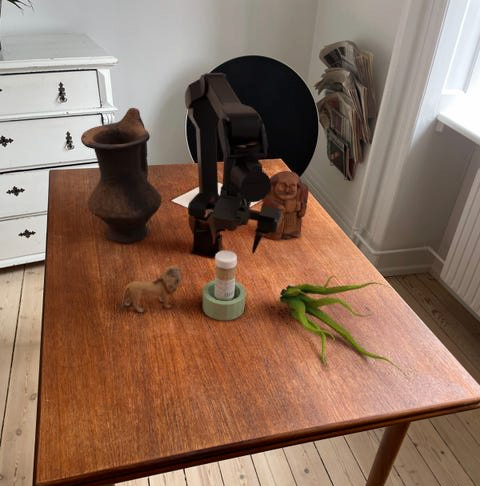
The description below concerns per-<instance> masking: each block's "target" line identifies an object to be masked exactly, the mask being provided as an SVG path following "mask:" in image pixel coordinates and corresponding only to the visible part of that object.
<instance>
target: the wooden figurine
mask: <svg viewBox="0 0 480 486" xmlns="http://www.w3.org/2000/svg"><path fill="white" fill-rule="evenodd" d="M269 178H270V182H271V188H270V191H269V193H268V195H267V196H266V197H265V198H264V199H262V200H261V201H262V204H261V208H260V211H262V209H263V207H264V206H269V207H274V208H279V209H281V210H282V212H283V217H282V222H281V224H280V225H279V227H278V229H277V231H276V232H274V233H272V232H270V234H264V235H263V237H266V238H267V239H269V240H275V241H279V240H290V239H291V240H292V238H300V236H301V231H302V224H303V218H304V217H305V215H306V213H307V209H308V202H309V201H308V199H309V191H310V190H309V186H308V184H307V183H306V182H304V181H303V180H302V179H301V177H300V176H299V175H298V174H297V173H296V172H295V171H290V170H282V171H279V172H276V173H274V174H273V175H272V176H270V177H269Z"/></svg>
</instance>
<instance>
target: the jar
mask: <svg viewBox="0 0 480 486" xmlns="http://www.w3.org/2000/svg"><path fill="white" fill-rule="evenodd" d="M214 289H215V279H212V280H209V281H208V282H207V283H205V284H204V286H203V288H202V301H201V302H202V303H201V305H202V306H201V308H202V311H203V313H204V314H205V315H206V316H208V317H209V318H211V319H214V320H217V321H232V320H236V319H238V318H239V317H241V315H242V314H243V313H244V311H245V305H246V294H247V293H246V289H245V287H244V285H242V284H241V282H238V281H236V280H235V289H234V298H233V300H231V301H220V300H216V299H214V297H215V294H214Z"/></svg>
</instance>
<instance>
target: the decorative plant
mask: <svg viewBox="0 0 480 486" xmlns="http://www.w3.org/2000/svg"><path fill="white" fill-rule="evenodd" d="M337 277H339V278H340V276H337ZM332 278H335V275H331V276H329V277H328V279H327V281H326V283H325V284H324V286H322V285H314V284H311V283H303V284H297V285H290V284H288V285H287V286H286V287H285V288H282V289H281V291H280V294H279V295H280V296H279V300H280V301H279V302H280V303H282V304H284V305H285V304H286V305H287V306H288V307H289V308H290V313H291V316H292V317H293V318H294V319H296V321H299V322H300V324H301V325H302V327H303V328H304V330H305V331H308V332H312V333H315V334H316V336H318V337H319V338H320V340H321V360H322V362H323V364H324V365H325V367H326V368H328V365H327V364H326V362H325V357H324V356H325V349H326V338H327V337H326V334H327V335H329V336H330V337H331V338H332V339H333V341H335V339H336V338H335V337H334V335H333V334H332V332H330V331H328V330H323V329H321V327H320V326H319V325H318V324H317V323H316V322H315V321H313V320H312V319H310V318H309V317H308V316H307V315H310V316H312V317H314V318H316V319H318V320H319V321H321V322H322V323H324V324H325V325H327V326H328V327H329V328H330V329H332V330H333V331H334V332H335V333H337V334H338V335H339V336H340V337H341V338H342V339H343V340H345V341H346V342H347V343H348V344H350V345H351V346H352V347H353V348H354V349H355V350H356V351H357V352H359V353H360V354H361V355H364V356H367V357H369V358H372V359H376V360H383V361H386V362H387V363H390V364H391V365H393V366H394V367H395V368H396V369H398V370H399V371H401V372H402V374H403V375H404V376H405V377H406V378H407V379H408V380H410V378H409V377H408V376H407V374H405V372H403V370H402V369H400V367H398V366H397V365H396V364H395V363H393V362H392V361H391V360H389V359H388V358H386V357H384V356H380V355H378V354H374V353H372V352H370V351H367V350H366V349H363V348H362V347H361V346H360V344H359V343H358V342H357V341H356V339H354V336H352V335H351V333H350V332H349V331H348V330H347V329H345V328H344V327H342V326H341V325H340V324H339V323H337V322H336V321H335V320H334V319H332V317H330V316H329V315H328V314H326V313H325V312H324V311H323V310H322V309H320V308H323V307H325V306H329V305H330V306H333V307H335V305H334V304H337V303H338V304H340V305H342V306H343V307H345V308H346V309H347V310H348V311H349V312H350V313H351V314H353V315H354V316H357V317H364V318H365V317H369V316H372V315H373V313H370V314H368V315H361V314H358V313H357V312H355V311H354V309H352V308H351V306H350V305H349V304H348V303H347V302H346V301H344V300H342V299H341V298H336V297H328V296H329V295H335V294H340V293H344V292H345V293H346V292H349V291H355V290H360V289H363V288H366V287H367V286H370V285H381V286H385V287H387V288H389V289H391V286H388V285H386V284H384V283H380V282H375V281H373V282H372V281H371V282H367V283H363V284H353V285H352V284H351V285H350V284H349V285H338V286H331V287H328V285H329V283H330V280H331V279H332ZM309 295H321V296H326V297H321V298H313V297H310V296H309Z"/></svg>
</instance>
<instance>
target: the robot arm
mask: <svg viewBox="0 0 480 486" xmlns="http://www.w3.org/2000/svg"><path fill="white" fill-rule="evenodd" d="M184 103H185V108H186V109H187V113H188V114H187V115H188V117H189V119H190V121H191V122H192V124H193V125H194V128H195V133H196V135H195V137H196V153H197V155H196V156H197V175H198V187H199V193H198V194H197V195H196V196H195V197H194V198H193V199H192V200H191V201H190V202H189V205H188V208H187V215H188V227H189V229H190V231H191V233H192V236H193V239H192V240H193V243H192V248H191V250H190V253H191V254H194V255H197V256H198V255H199V256H203V257H206V258H210V259H211V258H212V259H215V255H216V254H217V253H218V252H220V251H222V248H223V235H222V234H221V232H223V233H224V232H226V231H228V232H235V231H237V229H238V228H241V227H242V226H245V227H247V225H248V224H249V221H250V220H251V221H255V222H256V228H255V230H254V239H253V243H252V248H251V249H252V250H251V253H252V254H255V253H256V251H257V248H258V246H259V245H260V242H261V240H262V239H263V237H264V234H270V232H272V233H274V232H276V231H277V229H278V227H279V225H280V224H281V222H282V217H283V212H282V210H281V209H279V208H274V207H269V206H264V207H263V209H262V211H261V210H256V209H251V207H250V205H251V202H258V201H259V202H261V201H262V199H264V198H265V197H266V196H267V195H268V193H269V191H270V188H271V182H270V178H271V177H269V175H268V174H267V173H266V172H265V170H264V169H263V163H261V162H260V158H267V157H268V151H267V149H268V147H269V142H268V138H267V133H266V128H265V125H264V121H263V119H262V118H261V116H260V114H259V113H258V111H256V110H255V109H254V108H253V107H252V106H249V105H246V104H243V103H242V102H241V100H240V99H239V98H238V96H237V95H236V93H235V92H234V90H233V88H232V86H231V85H230V83H229V81H228V77H227V74H225V73H223V72H205V73H204V74H201V75H200V77H199V79H196V80H195V81H193V82H192V83H190V84H188V86H187V88H186V90H185V92H184ZM217 132H218V138H219V140H220V145H221V146H220V147H221V149H222V154H223V168H222V169H223V170H222V184H223V185H222V187H221V191H220V196H219V194H218V183H219V178H218V175H219V173H218V148H217V147H218V146H217V145H218V141H217ZM252 145H253V146H252ZM255 145H257V146H255ZM260 200H261V201H260ZM259 202H258V203H259Z"/></svg>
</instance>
